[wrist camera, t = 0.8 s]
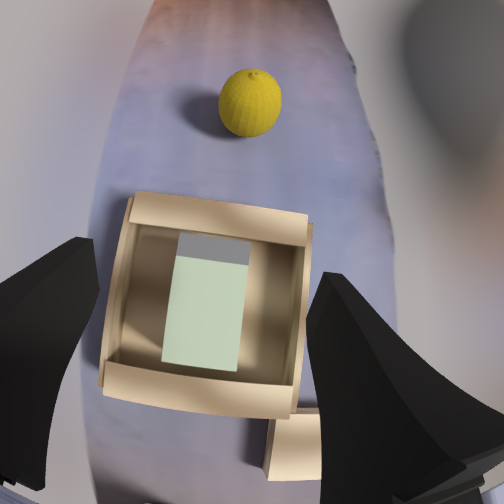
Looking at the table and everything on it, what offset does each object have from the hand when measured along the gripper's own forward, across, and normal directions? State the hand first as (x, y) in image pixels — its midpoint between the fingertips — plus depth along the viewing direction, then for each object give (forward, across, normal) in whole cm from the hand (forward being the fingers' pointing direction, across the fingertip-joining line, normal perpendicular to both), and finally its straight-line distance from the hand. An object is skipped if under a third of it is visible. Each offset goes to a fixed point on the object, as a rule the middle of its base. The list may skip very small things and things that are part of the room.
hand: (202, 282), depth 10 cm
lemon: (+24, -1, 0) cm, 24 cm away
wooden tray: (+11, 0, +12) cm, 16 cm away
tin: (+11, 0, +11) cm, 15 cm away
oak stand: (+3, -9, +19) cm, 21 cm away
